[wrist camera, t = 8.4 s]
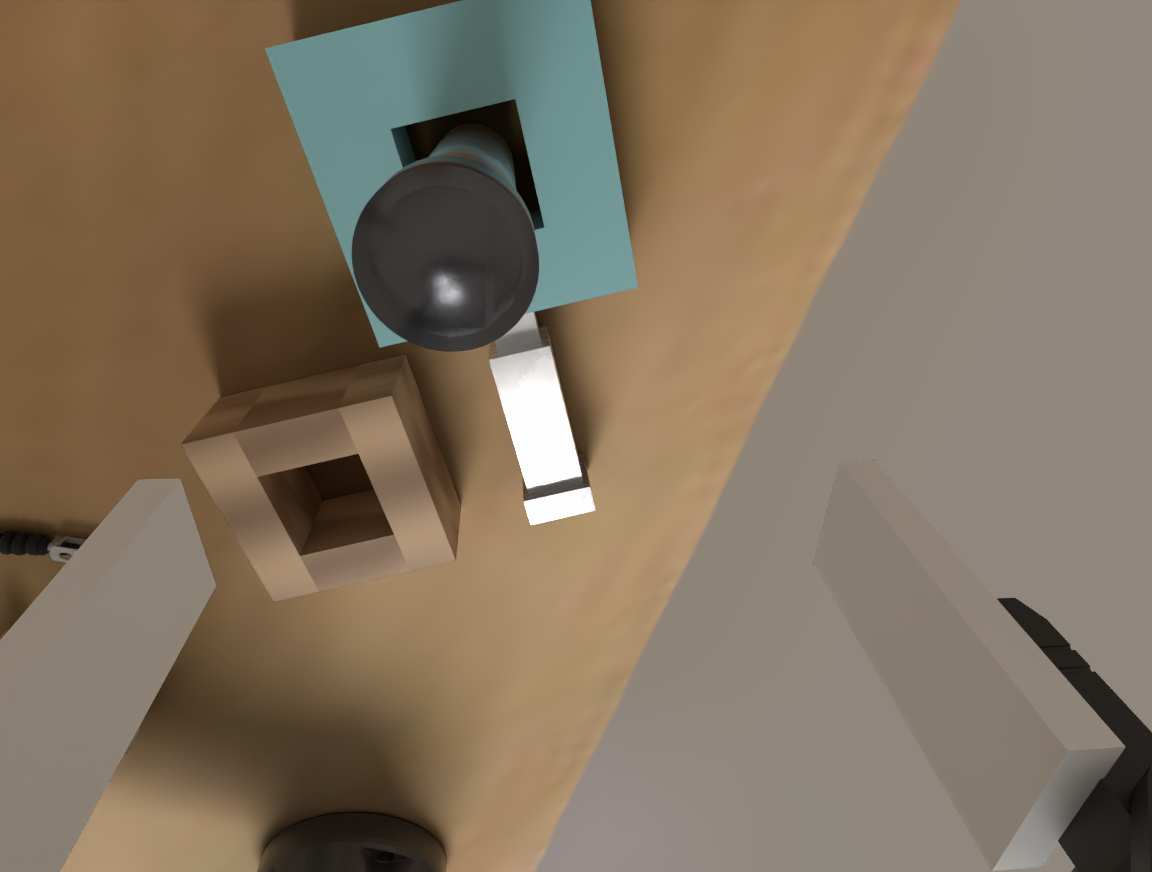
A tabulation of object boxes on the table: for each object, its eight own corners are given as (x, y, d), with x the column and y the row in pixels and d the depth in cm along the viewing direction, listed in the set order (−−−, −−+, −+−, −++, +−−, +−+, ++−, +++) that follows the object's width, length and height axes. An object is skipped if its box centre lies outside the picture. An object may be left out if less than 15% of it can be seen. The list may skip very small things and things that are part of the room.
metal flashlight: (532, 204, 32) (556, 329, 17) (442, 225, 32) (389, 368, 17) (509, 103, 30) (513, 146, 15) (412, 126, 30) (321, 191, 15)
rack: (461, 506, 40) (455, 560, 35) (298, 543, 40) (273, 601, 36) (405, 353, 35) (391, 395, 30) (220, 397, 35) (180, 444, 31)
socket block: (624, 264, 34) (637, 287, 30) (392, 318, 34) (379, 347, 30) (575, -19, 28) (585, -30, 24) (294, 49, 28) (264, 48, 24)
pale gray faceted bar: (588, 474, 39) (595, 510, 36) (528, 488, 39) (530, 525, 36) (533, 246, 32) (537, 266, 29) (462, 263, 33) (457, 285, 29)
